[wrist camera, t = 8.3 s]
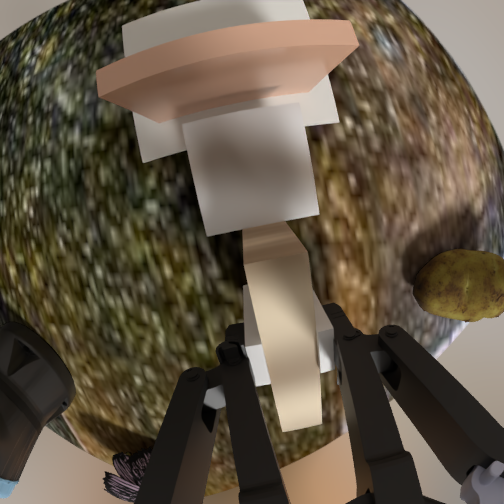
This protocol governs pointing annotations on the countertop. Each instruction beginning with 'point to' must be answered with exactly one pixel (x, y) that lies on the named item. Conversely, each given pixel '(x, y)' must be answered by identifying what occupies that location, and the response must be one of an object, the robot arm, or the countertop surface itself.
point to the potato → (462, 285)
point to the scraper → (266, 236)
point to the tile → (226, 67)
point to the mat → (208, 19)
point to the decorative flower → (127, 474)
